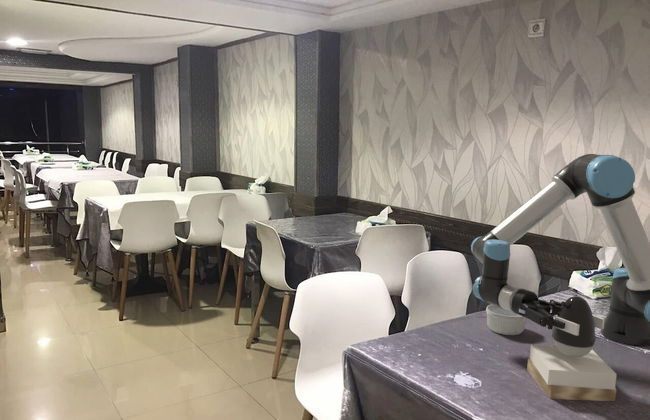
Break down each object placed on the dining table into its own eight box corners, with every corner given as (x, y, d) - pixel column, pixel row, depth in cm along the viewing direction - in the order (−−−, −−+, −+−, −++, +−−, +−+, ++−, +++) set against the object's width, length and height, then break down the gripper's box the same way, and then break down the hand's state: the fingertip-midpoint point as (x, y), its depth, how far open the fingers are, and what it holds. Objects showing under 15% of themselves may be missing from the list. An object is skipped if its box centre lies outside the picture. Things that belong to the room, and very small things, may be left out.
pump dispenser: (541, 347, 139) (546, 292, 137) (570, 342, 143) (575, 289, 141) (573, 363, 130) (579, 304, 127) (602, 357, 134) (609, 300, 132)
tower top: (589, 361, 144) (590, 348, 144) (614, 389, 129) (616, 374, 128) (529, 357, 146) (530, 344, 146) (547, 384, 130) (549, 369, 130)
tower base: (584, 374, 146) (585, 360, 145) (614, 403, 130) (616, 388, 129) (526, 372, 146) (528, 358, 146) (550, 401, 130) (551, 386, 130)
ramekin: (517, 323, 183) (518, 303, 182) (532, 337, 170) (534, 317, 169) (479, 322, 183) (481, 303, 182) (492, 336, 170) (494, 316, 169)
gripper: (543, 308, 157) (615, 334, 137) (490, 319, 146) (560, 348, 127) (545, 284, 156) (618, 306, 136) (492, 293, 145) (563, 319, 126)
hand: (590, 327), depth 131 cm, fingers closed on pump dispenser, 9 cm apart
